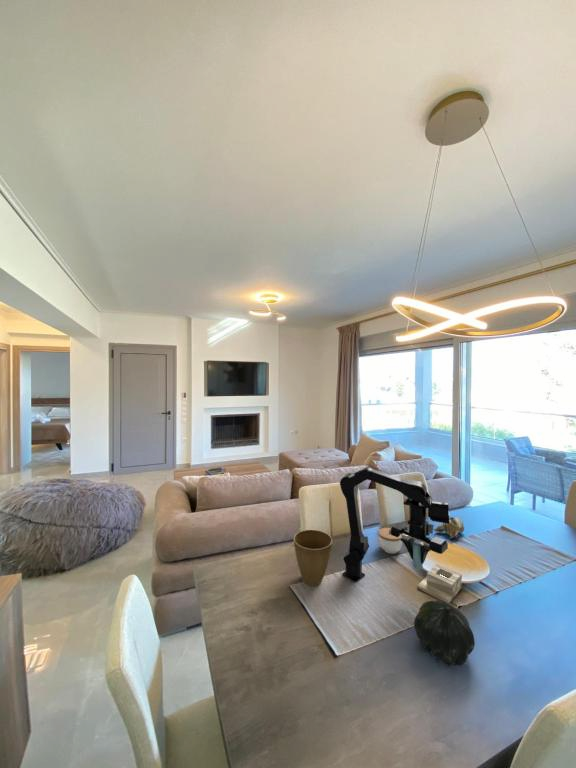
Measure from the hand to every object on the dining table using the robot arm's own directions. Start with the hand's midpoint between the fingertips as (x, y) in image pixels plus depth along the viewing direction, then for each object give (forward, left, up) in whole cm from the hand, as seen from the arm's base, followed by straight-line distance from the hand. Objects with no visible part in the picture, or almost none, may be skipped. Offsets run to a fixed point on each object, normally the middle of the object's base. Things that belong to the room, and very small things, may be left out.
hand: (417, 561), depth 112 cm
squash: (-18, -16, -12) cm, 27 cm away
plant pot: (-22, +31, -12) cm, 40 cm away
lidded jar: (+20, +22, -12) cm, 32 cm away
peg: (0, 0, -2) cm, 2 cm away
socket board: (+9, -4, -12) cm, 15 cm away
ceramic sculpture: (+57, +9, -12) cm, 59 cm away
